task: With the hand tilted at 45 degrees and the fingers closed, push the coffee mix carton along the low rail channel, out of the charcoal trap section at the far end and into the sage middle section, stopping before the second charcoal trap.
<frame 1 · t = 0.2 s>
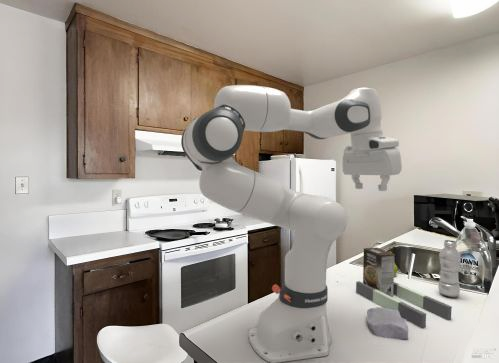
hand: (370, 189, 85), 40 cm above the worktop, tool pointing down, fingers open, 8 cm apart
plastic bottle: (448, 296, 103), on the worktop
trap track: (398, 304, 96), on the worktop
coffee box: (377, 294, 104), resting in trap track
stone block: (384, 328, 82), on the worktop
fruit: (389, 275, 123), on the worktop
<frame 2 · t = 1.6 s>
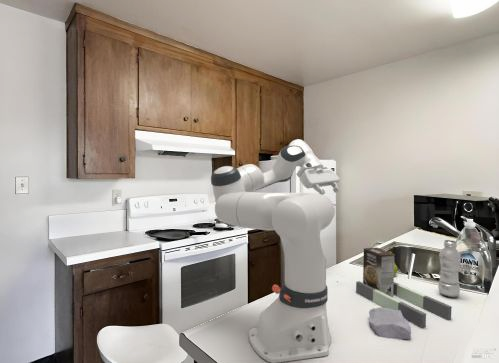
hand: (330, 192, 120), 36 cm above the worktop, tool tilted 40°, fingers open, 8 cm apart
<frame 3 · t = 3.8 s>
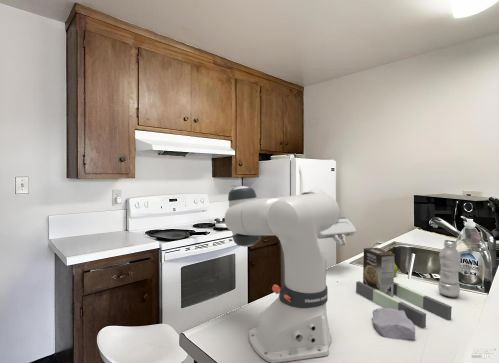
hand: (342, 244, 121), 14 cm above the worktop, tool tilted 45°, fingers closed
stone block: (390, 328, 82), on the worktop
everything else where it was.
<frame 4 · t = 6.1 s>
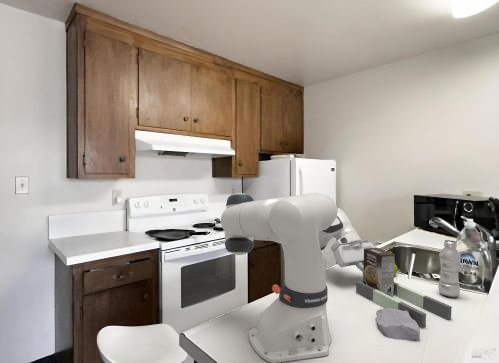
hand: (367, 273, 109), 6 cm above the worktop, tool tilted 45°, fingers closed
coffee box: (377, 294, 104), resting in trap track, touching gripper
stone block: (394, 329, 82), on the worktop
everything else where it was.
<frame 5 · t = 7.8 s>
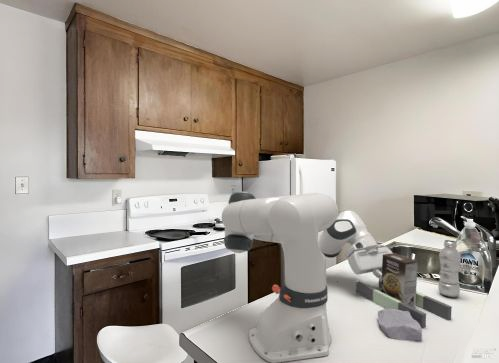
hand: (385, 281, 101), 6 cm above the worktop, tool tilted 45°, fingers closed, pressing on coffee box
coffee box: (397, 304, 96), resting in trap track, touching gripper
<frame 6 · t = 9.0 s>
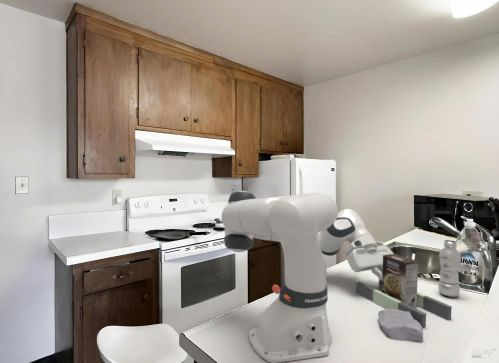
hand: (384, 279, 101), 6 cm above the worktop, tool tilted 45°, fingers closed
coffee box: (398, 305, 96), resting in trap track
everything else where it was.
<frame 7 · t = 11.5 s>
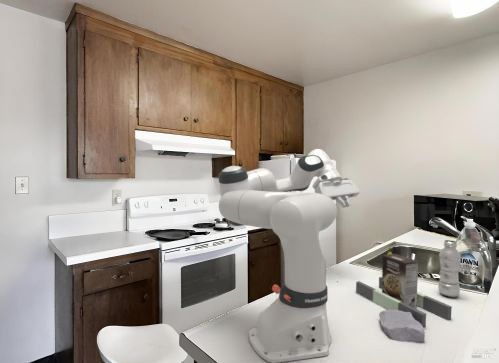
hand: (346, 206, 116), 31 cm above the worktop, tool tilted 40°, fingers closed
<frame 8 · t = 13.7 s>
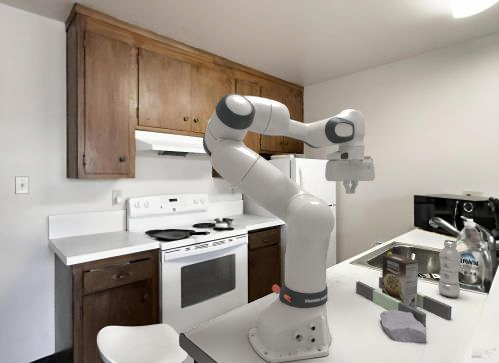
hand: (350, 193, 103), 37 cm above the worktop, tool pointing down, fingers closed
at the end: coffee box inside the target area on the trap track (0.1 cm from its centre), point 0.0 cm above the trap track's base; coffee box tilted 0°; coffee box moved 8.9 cm from its start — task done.
